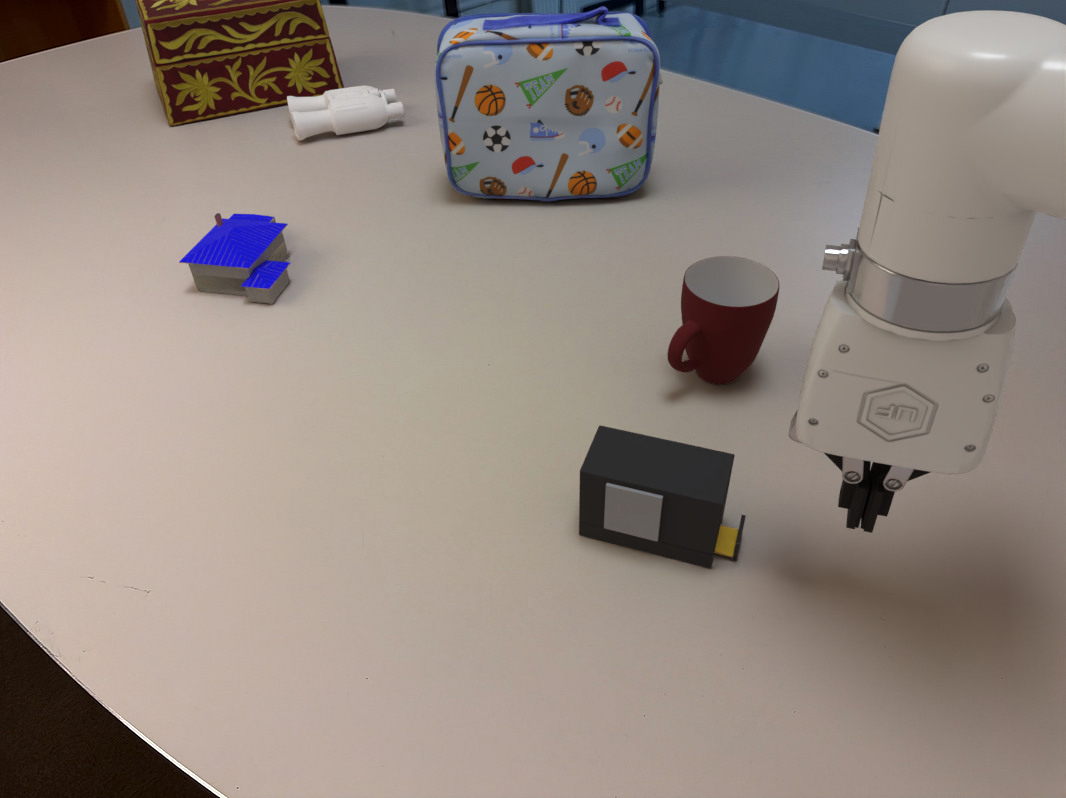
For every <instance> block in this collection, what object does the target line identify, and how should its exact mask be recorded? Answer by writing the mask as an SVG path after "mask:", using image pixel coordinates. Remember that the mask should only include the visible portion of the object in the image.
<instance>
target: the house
mask: <svg viewBox="0 0 1066 798" xmlns="http://www.w3.org/2000/svg"><path fill="white" fill-rule="evenodd" d="M213 217H214V219H215V223H216V224H215V225H214V226H213V227H212V228H211V229H210V230H209V231H208V232H207V233H206V234H205V235H204V236H203V237H202V238H201V239H200V240H199V241H198V242H197V243H196V244H195V245H194V246H193V247H192V248H191V249H190V250H189V251H188V252H187V253H186V254H185V255H184V256H183V257H182V258H181V259H180V260H179V261H178V264H185V265H187V264H188V267H189V269H190V273H191V275H192V278H193V281H194V283H195V287H196V289H197V292H203V293H213V294H214V293H215V294H225V295H235V296H247V299H248V302H250V303H259V304H268V305H269V304H271V305H273V304H274V303H275V301H276V300H277V299H278V298H279V296H280V295H281V294H282V293H283V291H284V290H285V288H286V287H287V286H288V285H289V284H290V282H291V281H290V277H289V272H288V267H289V266H290V265H291V262H290V261H287V260H288V258H289V252H288V249H287V244H286V241H285V237H284V233H283V231H284V230H285V229H286V228H287V227H288V225H289V223H284V222H277V221H276V218H275V216H273V215H272V216H271V215H264V214H257V213H232V215H231V216H229V218H222V215H221V213H220V212H219V213H218V212H216V213H215V215H214V216H213Z"/></svg>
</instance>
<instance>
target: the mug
mask: <svg viewBox="0 0 1066 798" xmlns="http://www.w3.org/2000/svg"><path fill="white" fill-rule="evenodd" d="M780 285H781V284H780V281H779V278H778V277H777V275H776V274H775V272H774V271H773V270H771V269H770V268H769V267H768V266H766V265H764V264H763V263H760V262H758V261H755V260H752V259H750V258H747V257H746V258H745V257H740V256H733V255H732V256H731V255H719V256H711V257H707V258H704V259H701V260H698V261H696V262H694V263H692V264H691V265H690V266H689V267H688V268H687V269H686V270H685V271H684V274H683V279H682V286H681V293H680V294H681V295H680V314H681V322H682V323H681V324H682V325H681V326H679V327H678V328H677V329H676V331H675V332H674V334H673V335H672V337H671V339H670V341H669V345H668V348H667V361H668V364H669V365H670V367H671V368H673V370H675V371H677V372H680V373H685V374H686V373H690V372H693V371H694V372H695V374H696V375H697V376H698V378H700V379H701V380H702V381H703V382H705V383H709V384H712V385H717V386H719V385H722V386H723V385H729V384H732V383H734V382H735V381H736V380H738V379H739V378H740V377H741V376H742V375H743V374H744V373H745V372H746V371H747V370H748V369H749V368H750V367H751V366H752V364H753V363H754V361H755V360H756V358H757V357H758V355H759V352H760V350H761V348H762V346H763V344H764V341H765V339H766V337H767V333H768V332H769V329H770V326H771V324H772V322H773V320H774V315H775V312H776V310H777V305H778V300H779V294H780V287H781V286H780ZM684 352H685V353H686V356H687V359H686V360H683V355H684Z"/></svg>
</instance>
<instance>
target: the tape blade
mask: <svg viewBox="0 0 1066 798" xmlns="http://www.w3.org/2000/svg"><path fill="white" fill-rule="evenodd" d="M746 518H747V515H745V514H741V517H740V521H739V526H738V528H734V527H730V526H726V525H722V524H721V525H720V530H719V534H718V538H717V543H716V547H715V552H714V554H717V555H720V556H721V555H722V556H726V557H728V558H729V557H730V558H731V559H732V560H731V561H734V562H737V560H738V556H739V551H740V546H741V542H742V536H743V531H744V528H745V522H746Z"/></svg>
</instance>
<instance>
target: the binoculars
mask: <svg viewBox="0 0 1066 798" xmlns="http://www.w3.org/2000/svg"><path fill="white" fill-rule="evenodd" d="M287 102H288V104H287V107H288V112H289V117H290V121H291V123H292V128H293V130H294V134H295V137H296V139H297V141H304V140H305V139H307V138H309V137H313V136H316V135H320V134H323V133H329V132H333V133H335V134H336V136H343V135H348V134H355V133H362V132H367V131H372V130H373V131H375V130H378V129H380V128H383V126H385V125H386V124H387V123H388V121H390V120H391V119H392V120H397V119H404V118H405V109H404V105H403V103H402V101H397V95H396V90H395V89H394V88H387V89H382V90H381V89H378V88H377V87H373V86H371V85H366V84H365V85H356V86H350V87H344V88H341V89H335V90H329V91H325V93H324V94H323V95H320V96H316V97H294V96H287Z"/></svg>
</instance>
